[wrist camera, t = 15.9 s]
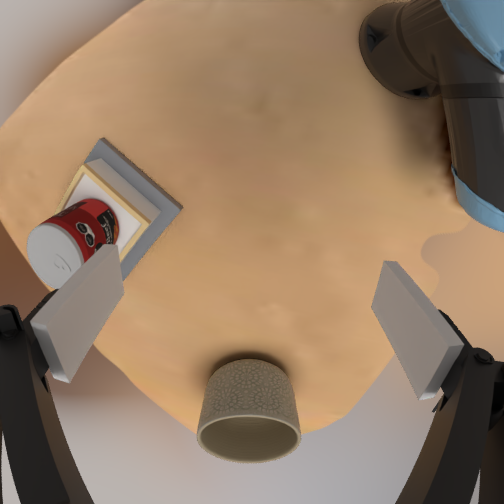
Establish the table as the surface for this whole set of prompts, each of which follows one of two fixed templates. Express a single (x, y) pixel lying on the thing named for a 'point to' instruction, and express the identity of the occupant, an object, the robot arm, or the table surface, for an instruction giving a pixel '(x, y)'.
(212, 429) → the planter
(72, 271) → the canned food
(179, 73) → the table surface
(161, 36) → the table surface
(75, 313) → the robot arm
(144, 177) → the base
